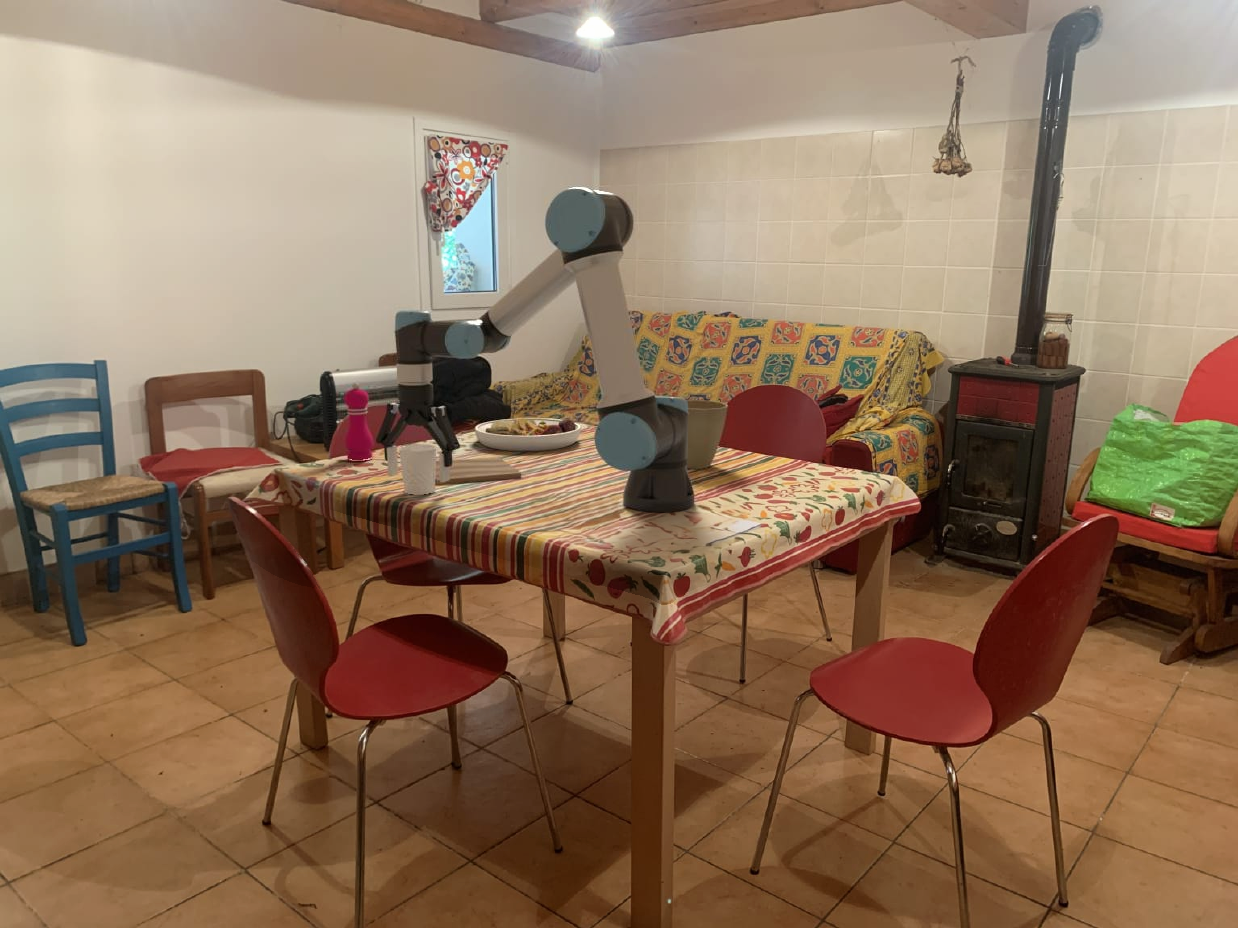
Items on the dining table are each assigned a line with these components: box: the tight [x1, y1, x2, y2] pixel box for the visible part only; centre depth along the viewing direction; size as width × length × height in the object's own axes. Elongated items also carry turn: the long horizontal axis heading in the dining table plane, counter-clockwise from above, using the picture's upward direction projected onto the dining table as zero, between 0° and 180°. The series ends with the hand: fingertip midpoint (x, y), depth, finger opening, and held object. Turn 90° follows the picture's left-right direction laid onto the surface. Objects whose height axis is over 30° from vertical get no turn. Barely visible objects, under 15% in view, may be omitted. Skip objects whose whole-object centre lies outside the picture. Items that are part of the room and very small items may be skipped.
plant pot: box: [685, 399, 729, 470], centre depth 224 cm, size 15×15×16 cm
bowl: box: [474, 417, 582, 452], centre depth 255 cm, size 30×30×8 cm
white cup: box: [399, 443, 437, 496], centre depth 197 cm, size 8×8×10 cm
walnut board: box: [435, 456, 522, 486], centre depth 217 cm, size 20×20×1 cm
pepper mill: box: [343, 382, 375, 460], centre depth 229 cm, size 7×7×20 cm
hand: (418, 478), depth 197 cm, fingers open, 13 cm apart
